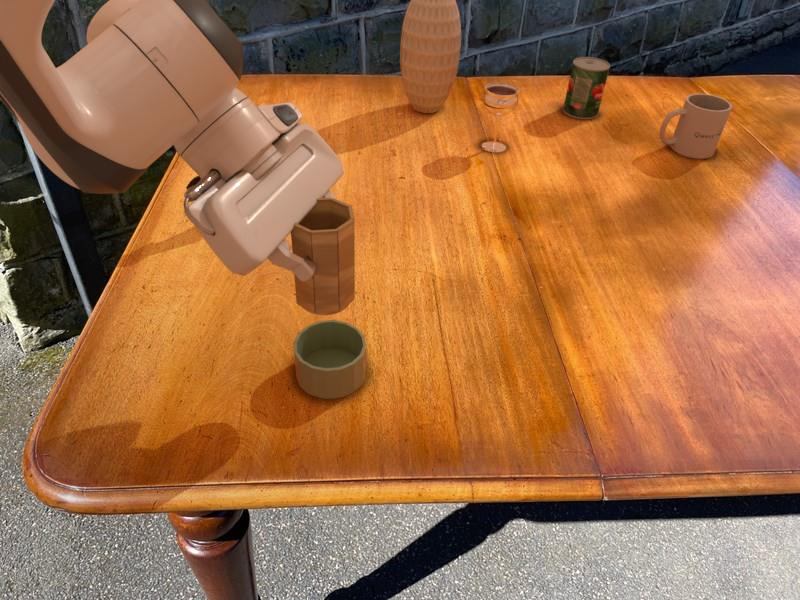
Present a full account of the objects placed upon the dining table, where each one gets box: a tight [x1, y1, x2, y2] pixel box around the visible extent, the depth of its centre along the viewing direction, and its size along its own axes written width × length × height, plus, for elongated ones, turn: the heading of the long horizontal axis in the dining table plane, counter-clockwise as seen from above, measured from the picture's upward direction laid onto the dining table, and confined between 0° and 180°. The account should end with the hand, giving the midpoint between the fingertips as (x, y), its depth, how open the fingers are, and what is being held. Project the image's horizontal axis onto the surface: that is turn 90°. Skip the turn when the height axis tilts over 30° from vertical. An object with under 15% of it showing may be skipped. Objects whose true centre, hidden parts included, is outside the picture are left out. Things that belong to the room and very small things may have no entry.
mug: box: [659, 93, 733, 160], centre depth 128 cm, size 12×9×10 cm
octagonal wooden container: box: [290, 197, 356, 316], centre depth 68 cm, size 6×6×11 cm
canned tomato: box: [562, 56, 611, 120], centre depth 140 cm, size 8×8×11 cm
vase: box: [399, 0, 462, 114], centre depth 133 cm, size 13×13×28 cm
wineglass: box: [481, 81, 521, 153], centre depth 125 cm, size 7×7×12 cm
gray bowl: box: [292, 319, 367, 400], centre depth 77 cm, size 9×9×5 cm
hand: (328, 253), depth 67 cm, fingers closed on octagonal wooden container, 7 cm apart
